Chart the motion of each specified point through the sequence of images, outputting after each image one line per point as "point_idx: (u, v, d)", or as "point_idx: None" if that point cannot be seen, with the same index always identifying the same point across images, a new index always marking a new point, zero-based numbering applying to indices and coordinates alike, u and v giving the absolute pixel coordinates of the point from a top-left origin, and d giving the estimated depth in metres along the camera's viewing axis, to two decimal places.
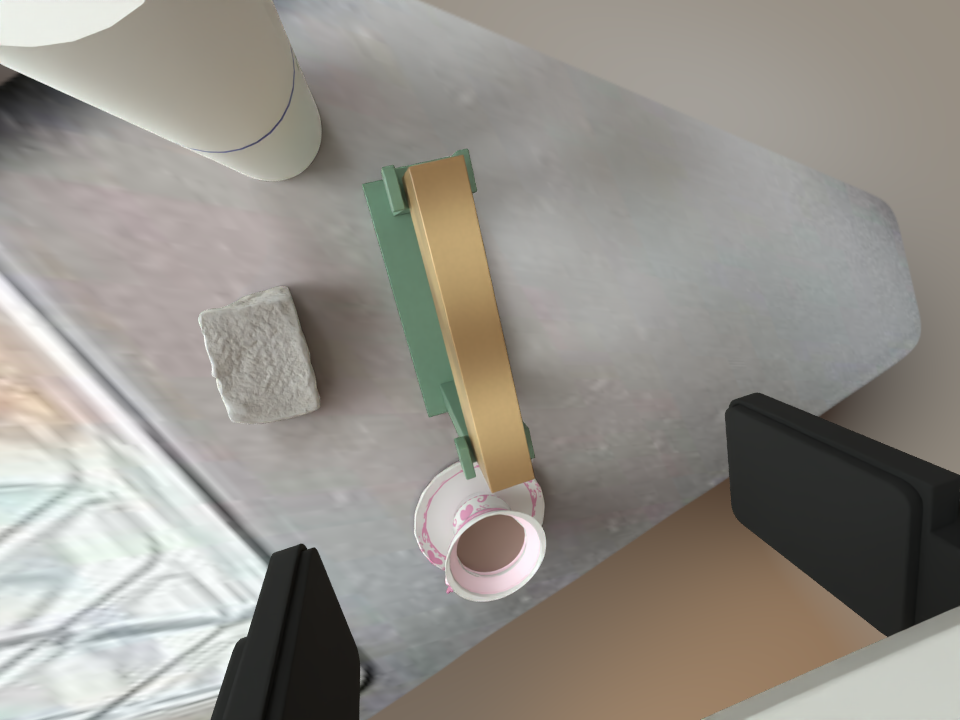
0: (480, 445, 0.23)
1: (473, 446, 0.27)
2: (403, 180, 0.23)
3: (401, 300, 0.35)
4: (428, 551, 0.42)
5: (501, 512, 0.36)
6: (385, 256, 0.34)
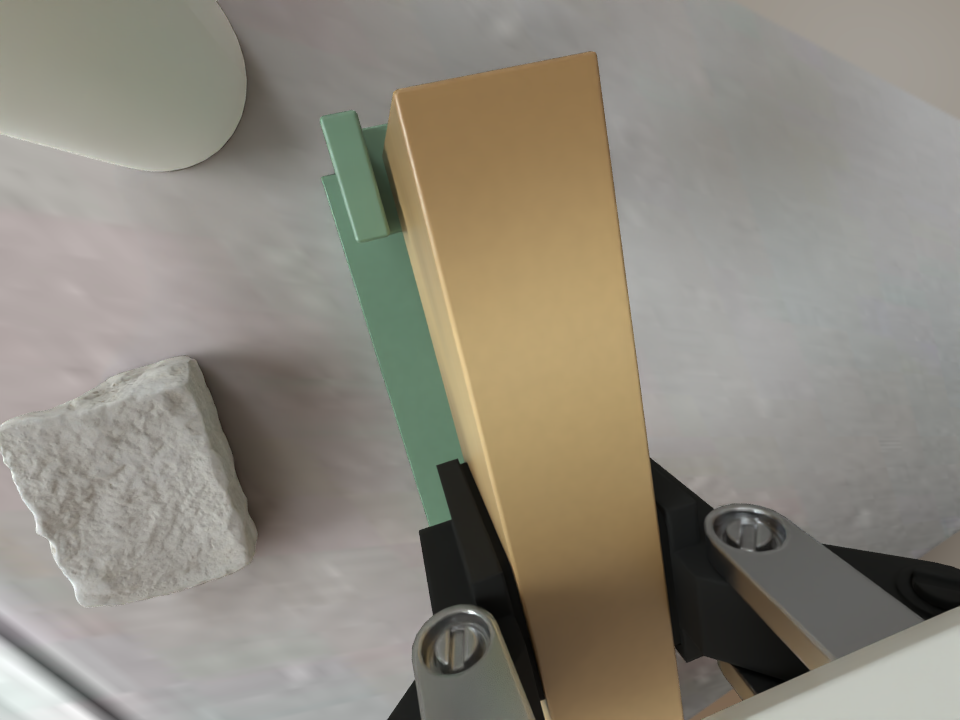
0: None
1: None
2: (385, 158, 0.08)
3: (392, 375, 0.21)
4: None
5: None
6: (364, 302, 0.20)
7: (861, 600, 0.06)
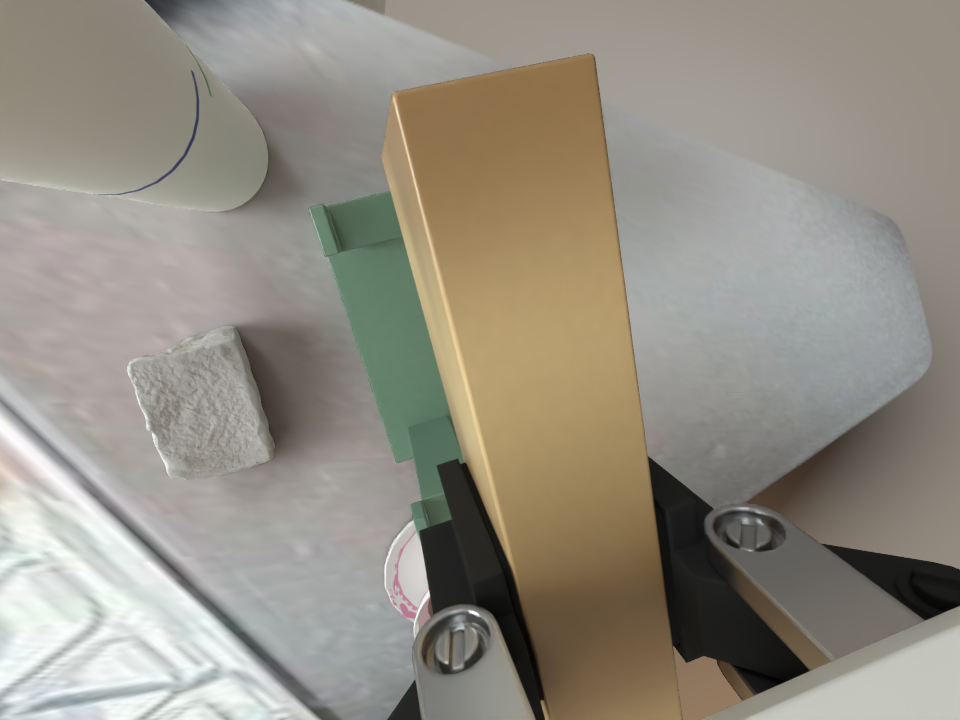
0: None
1: None
2: (384, 159, 0.08)
3: (362, 338, 0.32)
4: (400, 604, 0.38)
5: None
6: (342, 291, 0.31)
7: (861, 600, 0.06)
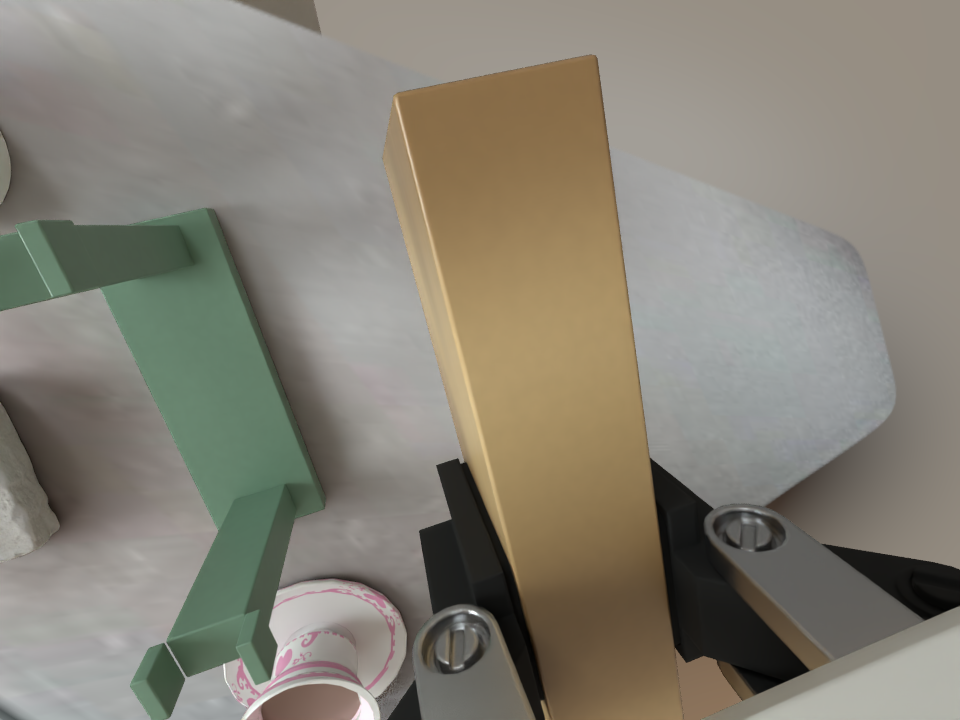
0: None
1: None
2: (385, 160, 0.08)
3: (160, 393, 0.25)
4: (247, 700, 0.32)
5: (308, 682, 0.26)
6: (126, 335, 0.24)
7: (861, 600, 0.06)
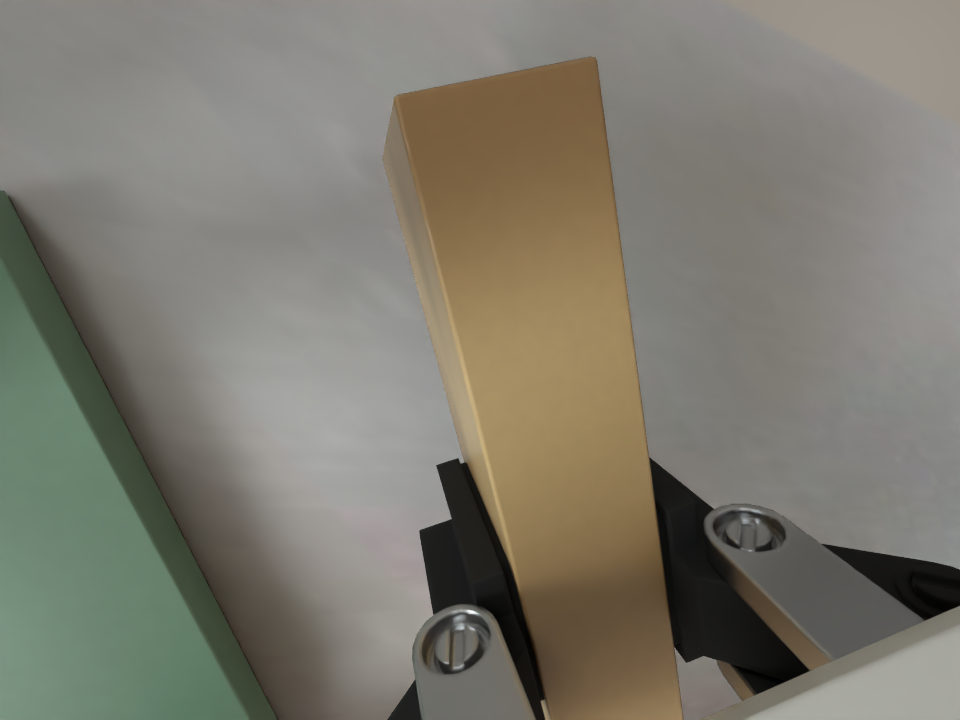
0: None
1: None
2: (386, 161, 0.08)
3: None
4: None
5: None
6: None
7: (861, 600, 0.06)
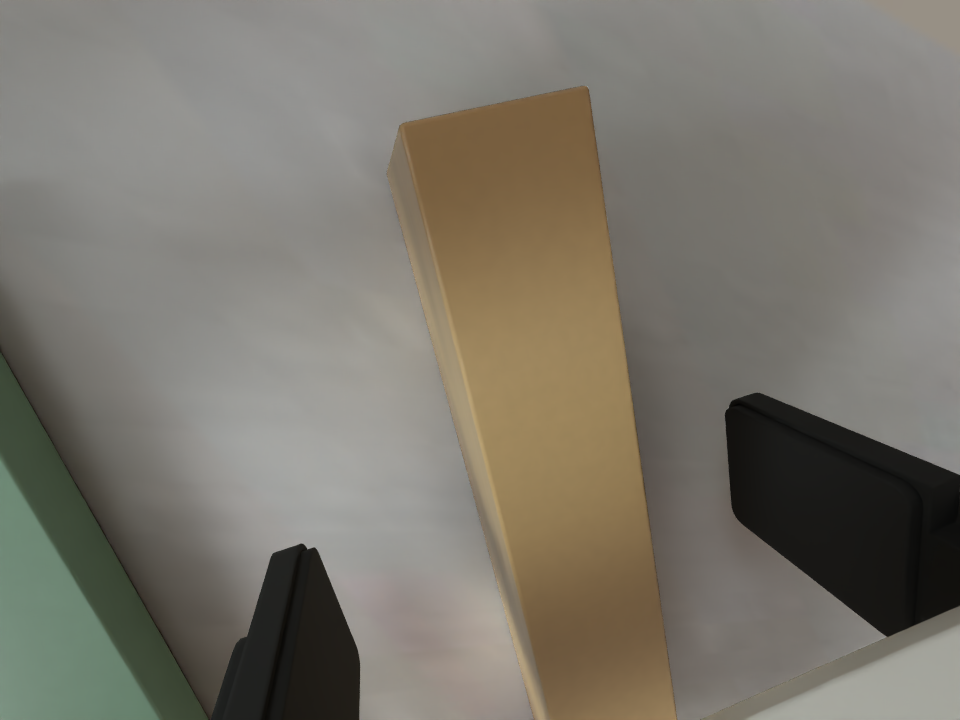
0: None
1: None
2: (390, 176, 0.09)
3: None
4: None
5: None
6: None
7: None
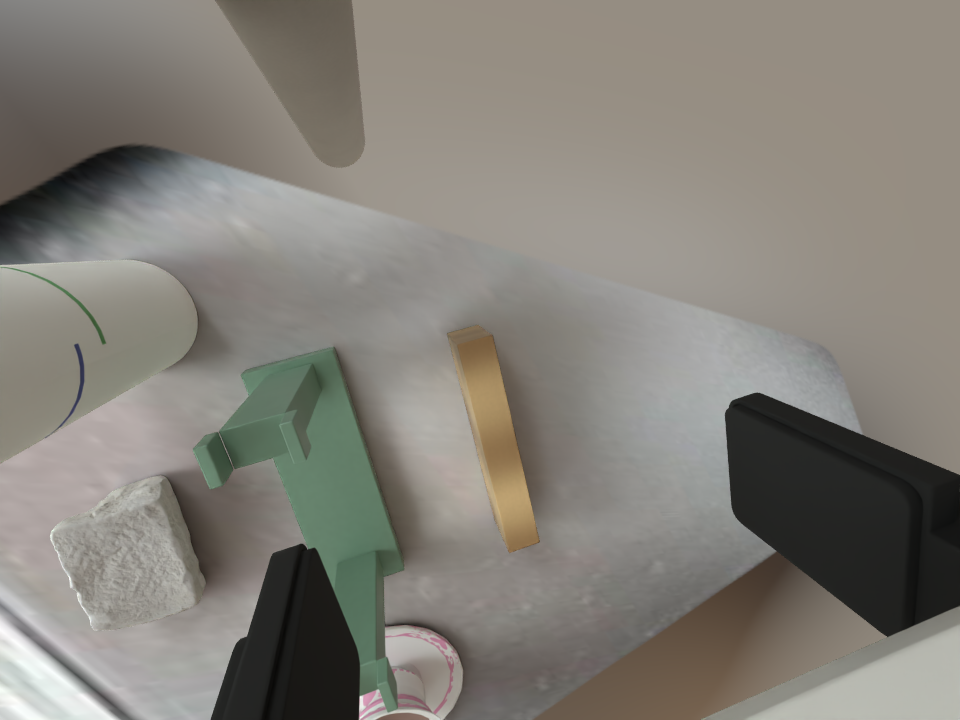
0: (501, 519, 0.34)
1: (495, 515, 0.37)
2: (449, 337, 0.33)
3: (290, 484, 0.33)
4: None
5: (396, 711, 0.33)
6: None
7: None
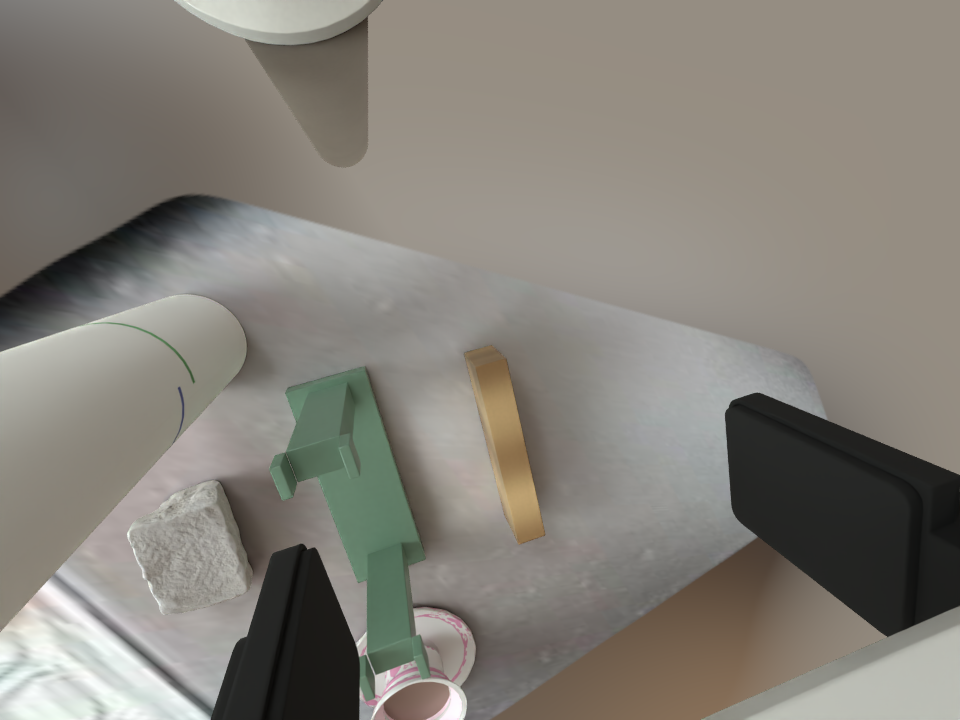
0: (512, 516, 0.38)
1: (505, 511, 0.42)
2: (466, 357, 0.38)
3: (327, 486, 0.38)
4: None
5: (421, 680, 0.38)
6: None
7: None
